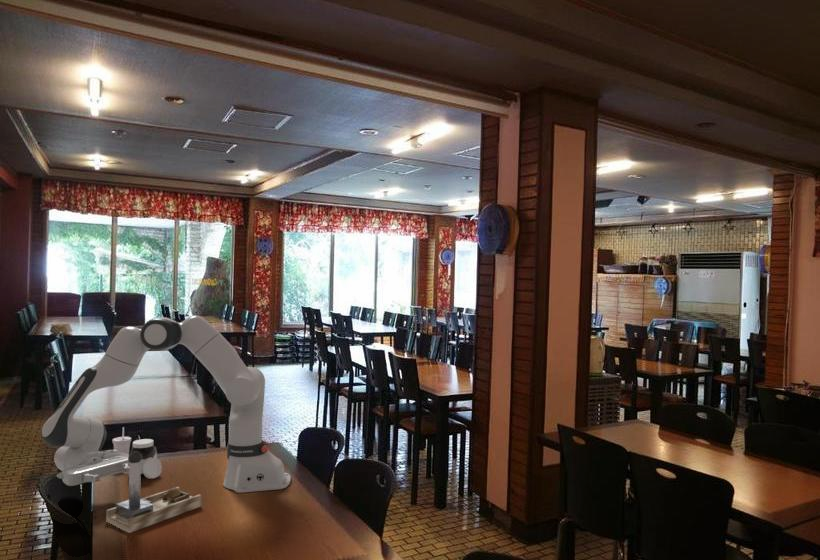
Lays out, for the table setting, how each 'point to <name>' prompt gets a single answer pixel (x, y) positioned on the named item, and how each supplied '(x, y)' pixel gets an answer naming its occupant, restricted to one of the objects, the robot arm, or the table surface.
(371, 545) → the table surface
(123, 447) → the smoothie
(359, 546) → the table surface
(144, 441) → the spread jar
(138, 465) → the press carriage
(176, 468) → the table surface
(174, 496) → the walnut
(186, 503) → the press base
